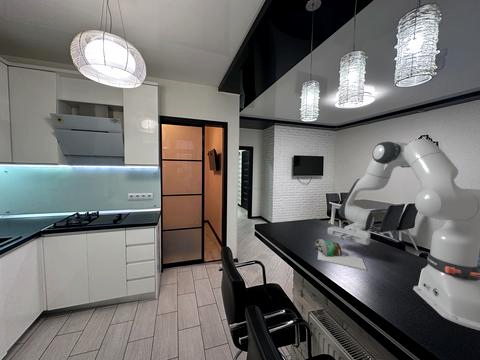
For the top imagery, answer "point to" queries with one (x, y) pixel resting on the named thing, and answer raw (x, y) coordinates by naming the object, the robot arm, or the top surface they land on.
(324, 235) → the top surface
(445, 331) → the top surface
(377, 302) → the top surface
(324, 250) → the food container
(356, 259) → the rubber mat
